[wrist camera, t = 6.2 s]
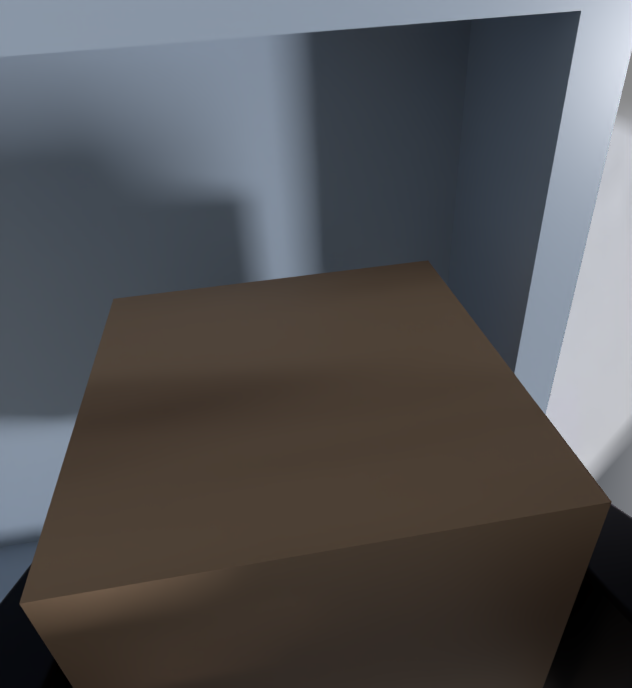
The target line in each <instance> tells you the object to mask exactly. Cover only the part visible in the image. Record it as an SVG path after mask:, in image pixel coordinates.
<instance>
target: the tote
mask: <svg viewBox="0 0 632 688" xmlns="http://www.w3.org/2000/svg"><path fill="white" fill-rule="evenodd" d="M631 51H632V0H0V602H1V601H2V600H3V599H4V597H5V596H6V595H7V594H8V592H9V591H10V590H11V588H12V587H13V586H14V585H15V583H16V582H17V581H18V580H19V578H20V577H21V576H22V575H23V573H24V572H25V571H26V569H27V568H28V567H29V566H30V564H31V563H32V561H33V558H34V555H35V551H36V548H37V545H38V542H39V538H40V535H41V532H42V529H43V525H44V522H45V519H46V516H47V512H48V509H49V506H50V503H51V499H52V496H53V493H54V490H55V486H56V483H57V480H58V477H59V474H60V470H61V467H62V464H63V461H64V457H65V454H66V451H67V448H68V444H69V441H70V438H71V435H72V431H73V428H74V425H75V422H76V418H77V415H78V412H79V409H80V405H81V402H82V399H83V396H84V392H85V389H86V386H87V383H88V380H89V376H90V373H91V370H92V367H93V363H94V360H95V357H96V354H97V350H98V347H99V344H100V341H101V337H102V334H103V331H104V328H105V324H106V321H107V318H108V315H109V311H110V308H111V305H112V302H113V299H116V298H124V297H132V296H140V295H148V294H157V293H165V292H173V291H181V290H189V289H198V288H206V287H214V286H222V285H230V284H239V283H247V282H255V281H263V280H271V279H279V278H288V277H296V276H304V275H312V274H320V273H329V272H337V271H345V270H353V269H361V268H370V267H378V266H386V265H394V264H402V263H410V262H419V261H427V260H428V261H429V262H430V264H431V265H432V266H433V268H434V269H435V270H436V271H437V273H438V274H439V275H440V277H441V278H442V279H443V281H444V282H445V283H446V285H447V286H448V287H449V289H450V290H451V291H452V293H453V294H454V295H455V296H456V298H457V299H458V300H459V302H460V303H461V304H462V306H463V307H464V308H465V310H466V311H467V312H468V314H469V315H470V316H471V318H472V319H473V320H474V322H475V323H476V324H477V325H478V327H479V328H480V329H481V331H482V332H483V333H484V335H485V336H486V337H487V339H488V340H489V341H490V343H491V344H492V345H493V347H494V348H495V349H496V350H497V352H498V353H499V354H500V356H501V357H502V358H503V360H504V361H505V362H506V364H507V365H508V366H509V368H510V369H511V370H512V372H513V373H514V374H515V375H516V377H517V378H518V379H519V381H520V382H521V383H522V385H523V386H524V387H525V389H526V390H527V391H528V393H529V394H530V395H531V397H532V398H533V399H534V401H535V402H536V403H537V404H538V406H539V407H540V408H541V410H542V411H543V412H544V414H546V409H547V405H548V401H549V397H550V393H551V388H552V384H553V380H554V376H555V372H556V367H557V363H558V359H559V355H560V350H561V346H562V342H563V338H564V334H565V329H566V325H567V321H568V317H569V313H570V308H571V304H572V300H573V296H574V291H575V287H576V283H577V279H578V275H579V270H580V266H581V262H582V258H583V254H584V249H585V245H586V241H587V237H588V232H589V228H590V224H591V220H592V216H593V211H594V207H595V203H596V199H597V195H598V190H599V186H600V182H601V178H602V173H603V169H604V165H605V161H606V157H607V152H608V148H609V144H610V140H611V136H612V131H613V127H614V123H615V119H616V114H617V110H618V106H619V102H620V98H621V93H622V89H623V85H624V81H625V77H626V72H627V68H628V64H629V60H630V55H631Z"/></svg>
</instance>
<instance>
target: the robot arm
mask: <svg viewBox="0 0 632 688" xmlns="http://www.w3.org/2000/svg"><path fill="white" fill-rule="evenodd" d="M31 564H32V563H31ZM31 564H30V566H29V567H28V568H27V569H26V571H25V572H24V573H23V575H22V576H21V577H20V578H19V580H18V581H17V582H16V583H15V585H14V586H13V587H12V588H11V590H10V591H9V592H8V594H7V595H6V596H5V597H4V599H3V600H2V601H1V602H0V688H73V687H72V685H71V684H70V682H69V680H68V679H67V677H66V676H65V674H64V673H63V671H62V669H61V668H60V666H59V665H58V663H57V662H56V660H55V659H54V657H53V655H52V654H51V652H50V651H49V649H48V648H47V646H46V645H45V643H44V641H43V640H42V638H41V637H40V635H39V634H38V632H37V631H36V629H35V627H34V626H33V624H32V623H31V621H30V620H29V618H28V617H27V615H26V613H25V612H24V610H23V609H22V607H21V606H20V604H19V603H20V600H21V597H22V593H23V590H24V587H25V584H26V580H27V577H28V574H29V571H30V568H31ZM543 688H632V517H630V516H629V515H627V514H626V513H624V512H623V511H621V510H620V509H618V508H617V507H616V506H614V505H613V504H611V505H610V508H609V510H608V513H607V516H606V518H605V521H604V524H603V526H602V529H601V532H600V535H599V537H598V540H597V543H596V545H595V548H594V551H593V553H592V556H591V559H590V562H589V564H588V567H587V570H586V572H585V575H584V578H583V580H582V583H581V586H580V589H579V591H578V594H577V597H576V599H575V602H574V605H573V607H572V610H571V613H570V616H569V618H568V621H567V624H566V626H565V629H564V632H563V634H562V637H561V640H560V643H559V645H558V648H557V651H556V653H555V656H554V659H553V661H552V664H551V667H550V669H549V672H548V675H547V678H546V680H545V683H544V686H543Z"/></svg>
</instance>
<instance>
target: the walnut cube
mask: <svg viewBox="0 0 632 688" xmlns="http://www.w3.org/2000/svg"><path fill="white" fill-rule="evenodd" d="M610 505H611V501H610V499H609V498H608V497H607V495H606V494H605V493H604V491H603V490H602V489H601V487H600V486H599V485H598V484H597V482H596V481H595V480H594V478H593V477H592V476H591V474H590V473H589V472H588V470H587V469H586V468H585V466H584V465H583V464H582V462H581V461H580V460H579V458H578V457H577V456H576V455H575V453H574V452H573V451H572V449H571V448H570V447H569V445H568V444H567V443H566V441H565V440H564V439H563V437H562V436H561V435H560V433H559V432H558V431H557V429H556V428H555V427H554V426H553V424H552V423H551V422H550V420H549V419H548V418H547V416H546V415H545V414H544V412H543V411H542V410H541V408H540V407H539V406H538V404H537V403H536V402H535V401H534V399H533V398H532V397H531V395H530V394H529V393H528V391H527V390H526V389H525V387H524V386H523V385H522V383H521V382H520V381H519V379H518V378H517V377H516V375H515V374H514V373H513V372H512V370H511V369H510V368H509V366H508V365H507V364H506V362H505V361H504V360H503V358H502V357H501V356H500V354H499V353H498V352H497V350H496V349H495V348H494V347H493V345H492V344H491V343H490V341H489V340H488V339H487V337H486V336H485V335H484V333H483V332H482V331H481V329H480V328H479V327H478V325H477V324H476V323H475V322H474V320H473V319H472V318H471V316H470V315H469V314H468V312H467V311H466V310H465V308H464V307H463V306H462V304H461V303H460V302H459V300H458V299H457V298H456V296H455V295H454V294H453V293H452V291H451V290H450V289H449V287H448V286H447V285H446V283H445V282H444V281H443V279H442V278H441V277H440V275H439V274H438V273H437V271H436V270H435V269H434V268H433V266H432V265H431V264H430V262H429V261H428V260H427V261H419V262H410V263H402V264H394V265H386V266H378V267H370V268H361V269H353V270H345V271H337V272H329V273H320V274H312V275H304V276H296V277H288V278H279V279H271V280H263V281H255V282H247V283H239V284H230V285H222V286H214V287H206V288H198V289H189V290H181V291H173V292H165V293H157V294H148V295H140V296H132V297H124V298H116V299H113V302H112V305H111V308H110V311H109V315H108V318H107V321H106V324H105V328H104V331H103V334H102V337H101V341H100V344H99V347H98V350H97V354H96V357H95V360H94V363H93V367H92V370H91V373H90V376H89V380H88V383H87V386H86V389H85V392H84V396H83V399H82V402H81V405H80V409H79V412H78V415H77V418H76V422H75V425H74V428H73V431H72V435H71V438H70V441H69V444H68V448H67V451H66V454H65V457H64V461H63V464H62V467H61V470H60V474H59V477H58V480H57V483H56V486H55V490H54V493H53V496H52V499H51V503H50V506H49V509H48V512H47V516H46V519H45V522H44V525H43V529H42V532H41V535H40V538H39V542H38V545H37V548H36V551H35V555H34V558H33V561H32V564H31V568H30V571H29V574H28V577H27V580H26V584H25V587H24V590H23V593H22V597H21V600H20V603H19V604H20V606H21V607H22V609H23V610H24V612H25V613H26V615H27V617H28V618H29V620H30V621H31V623H32V624H33V626H34V627H35V629H36V631H37V632H38V634H39V635H40V637H41V638H42V640H43V641H44V643H45V645H46V646H47V648H48V649H49V651H50V652H51V654H52V655H53V657H54V659H55V660H56V662H57V663H58V665H59V666H60V668H61V669H62V671H63V673H64V674H65V676H66V677H67V679H68V680H69V682H70V684H71V685H72V687H73V688H543V686H544V683H545V680H546V678H547V675H548V672H549V669H550V667H551V664H552V661H553V659H554V656H555V653H556V651H557V648H558V645H559V643H560V640H561V637H562V634H563V632H564V629H565V626H566V624H567V621H568V618H569V616H570V613H571V610H572V607H573V605H574V602H575V599H576V597H577V594H578V591H579V589H580V586H581V583H582V580H583V578H584V575H585V572H586V570H587V567H588V564H589V562H590V559H591V556H592V553H593V551H594V548H595V545H596V543H597V540H598V537H599V535H600V532H601V529H602V526H603V524H604V521H605V518H606V516H607V513H608V510H609V508H610Z"/></svg>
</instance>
